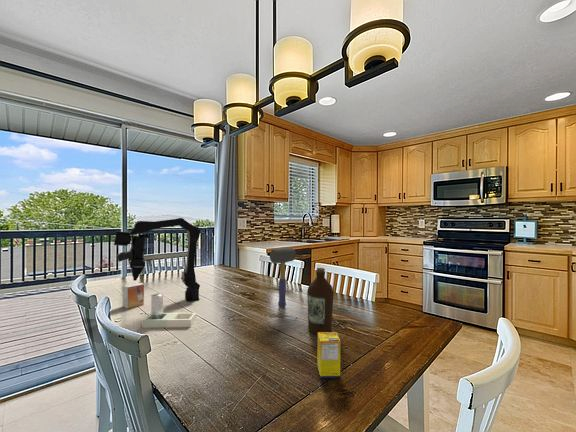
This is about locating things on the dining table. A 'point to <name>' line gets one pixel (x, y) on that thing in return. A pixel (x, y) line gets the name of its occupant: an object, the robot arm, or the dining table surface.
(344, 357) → the dining table surface
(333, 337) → the supplement box
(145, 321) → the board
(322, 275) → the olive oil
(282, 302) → the rubber mallet
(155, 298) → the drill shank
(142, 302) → the small box
